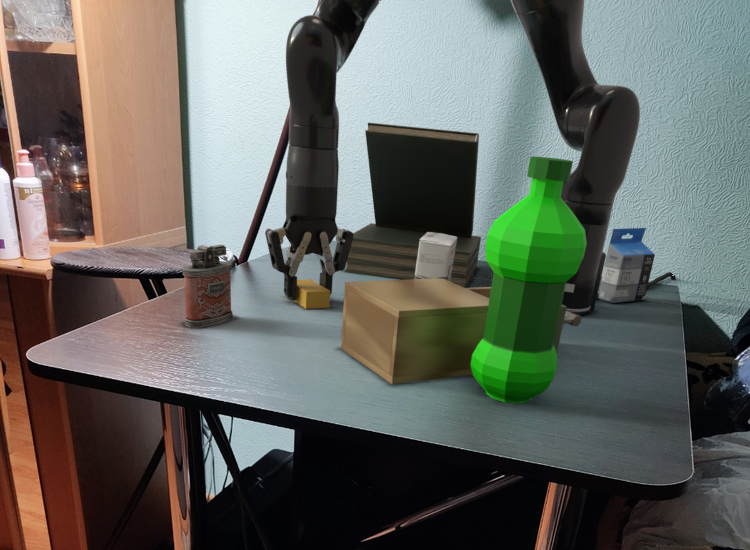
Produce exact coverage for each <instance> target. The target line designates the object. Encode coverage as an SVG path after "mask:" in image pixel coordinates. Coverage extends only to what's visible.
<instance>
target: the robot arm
mask: <svg viewBox="0 0 750 550" xmlns="http://www.w3.org/2000/svg"><path fill="white" fill-rule="evenodd" d="M381 1H382V0H320V1H319V3H318V5H317V7H316V8H315V10H314V12H313V14H309V15H305V16H301V18H300V17H299V19H297V20H296V21H295V22H294V23H293V25H292V26H291V28H290V30H289V31H288V35H287V39H286V45H285V47H286V48H285V70H286V81H287V92H288V100H289V118H288V119H289V120H288V150H287V158H286V171H285V221H284V222H283V225H282V227H279V228H276V229H271V228H267V229H266V230H265V232H264V235H265V239H266V243H267V249H268V253H269V257H270V262H271V267H272V268H273V269H274V270H275V271H278V272H279V273H282V274H283V294H284V295H285V296H286V298H287V299H288V300H289V301H290V302H295V301H296V299H297V280H298V276H296V275H297V273H298V269H299V267H300V264H301V263H302V262H303V260H304V258H305V256H307V255H312V254H314V255H316V258H317V260H318V263H319V266H320V270H321V272H320V273H319V283H318V284H319V285H321V286H323V287H325V288H326V289H328V290H330V296H331V295H332V293H333V279H334V274H335V273H337V272H340V271H341V272H343V271H345V270H346V267H347V259H348V255H349V252H350V248H351V244H352V241H353V237H354V234H353V233H354V232H352V231H350V230H349V229H345V228H339V227H338V225H337V222H336V217H337V213H338V212H337V211H338V191H339V174H340V173H339V172H340V171H339V170H340V169H339V168H340V165H339V164H340V163H339V139H340V138H339V135H340V113H339V108H338V105H337V102H336V97H337V96H336V95H337V74H338V73H339V71H341V69H342V68H343V66H344V65H345V64H346V62H347V60H348V58H349V57H350V55H351V54H352V52H353V50H354V48H355V46H356V45H357V42H358V40H359V38H360V37H361V34H362V33H363V30H364V29H365V26H366V24H367V22H368V21H369V18H370V17H371V15H372V14H373V12H374V11H375V10H376V8H378V5H380V2H381ZM510 3H511V5H512V8H513V10H514V13H515V15H516V17H517V19H518V21H519V23H520V25H521V27H522V29H523V30H522V31H523V32H524V34H525V37H526V40H527V42H528V44H529V47H530V50H531V52H532V54H533V57H534V60H535V62H536V64H537V67H538V69H539V72H540V75H541V77H542V79H543V82H544V86H545V89H546V92H547V95H548V99H549V103H550V106H551V109H552V113H553V116H554V119H555V123H556V127H557V129H558V132H559V134H560V136H561V138H562V140H563V141H564V143H565V144H566V145H567V146H568V147H569V148H571V149H573V150H575V151H577V152H581V153H580V158H579V160H578V164H577V166H576V168H575V169H574V170H573V171H571V174H570V179H569V181H564V182H563V187H562V193H561V198H562V200H563V201H564V202H565V203H566V204H567V206H568V207H569V208H570V209H571V211H572V212H573V213H574V215H575V216H576V218H577V219H578V220H579V222H580V223H581V225H582V226H583V228H584V229H585V234H586V241H587V244H586V249H585V254H584V257H583V259H582V262H581V264H580V266H579V269H578V271H577V273H576V274H575V275H574V276H573V277H571V278H570V279H569V280H568V281H566V285H565V290H564V295H563V300H562V305H564V306H567V308H566V311H568V312H571V313H574V314H576V315H579V316H583V315H587V314H589V313H590V312H594V311H595V306H596V301H598V300H599V299H598V297H599V291H600V286H601V281H602V277H603V272H604V267H605V262H606V257H607V253H605V252H603V251H604V247H605V244H606V243H605V242H606V239H607V233H608V230H609V226H610V221H611V216H612V211H613V207H614V203H615V199H616V195H617V193H618V191H619V190H620V189H621V187H622V185H623V183H624V182H625V178H626V175H627V172H628V167H629V164H630V160H631V157H632V153H633V150H634V146H635V143H636V139H637V135H638V131H639V127H640V118H641V107H640V101H639V98H638V96H637V94H636V92H635V91H634V90H632V89H631V88H629V87H627V86H623V85H611V84H609V85H608V84H599V83H598V82H597V79H596V78H595V76H594V74H593V72H592V71H593V70H592V69H591V67H590V63H589V62H588V59H587V56H586V53H585V49H584V45H583V23H584V13H585V12H584V11H585V0H510ZM284 238H286V240H287V241H288V242H289V245H288V249H287V250H286V251H287V252H286V259H285V258H284V254H283V249H282V244H283V243H284ZM334 239H335V241H336V246H335V249H334V253H333V254H332V250H331V247H330V245H331V243H332V242H333V240H334ZM671 272H672V271H668V272H666V273H663V274H662V275H660V276H658V277H657V276H656V278H654V279H652V281H649V282H648V286H647V289H648V288H651V287H653V286H656V285H657V284H659V283H660V282H662V281H664V280H666V279H668V278H670V280H671V281H676V280H677V278H676V277H677V276H676V274H675V275H674V276H672V275H673V274H672V273H673V272H672V273H671Z"/></svg>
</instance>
